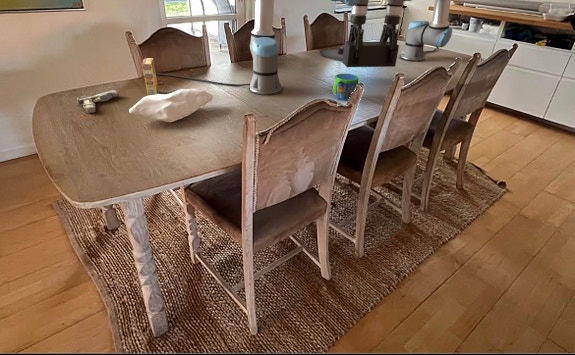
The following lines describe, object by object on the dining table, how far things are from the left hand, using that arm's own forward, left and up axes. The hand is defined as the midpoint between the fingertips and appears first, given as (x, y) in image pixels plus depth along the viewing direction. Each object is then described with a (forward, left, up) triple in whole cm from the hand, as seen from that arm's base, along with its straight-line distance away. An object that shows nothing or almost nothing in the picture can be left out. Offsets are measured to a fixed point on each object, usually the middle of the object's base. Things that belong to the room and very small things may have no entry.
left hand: (352, 61), depth 191 cm
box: (+9, 0, -2) cm, 9 cm away
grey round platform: (+13, +51, -10) cm, 53 cm away
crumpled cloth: (-89, -40, -10) cm, 98 cm away
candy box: (-100, -17, -10) cm, 102 cm away
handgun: (-120, -27, -10) cm, 123 cm away
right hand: (+18, 0, 0) cm, 18 cm away
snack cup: (-12, -27, -10) cm, 31 cm away
